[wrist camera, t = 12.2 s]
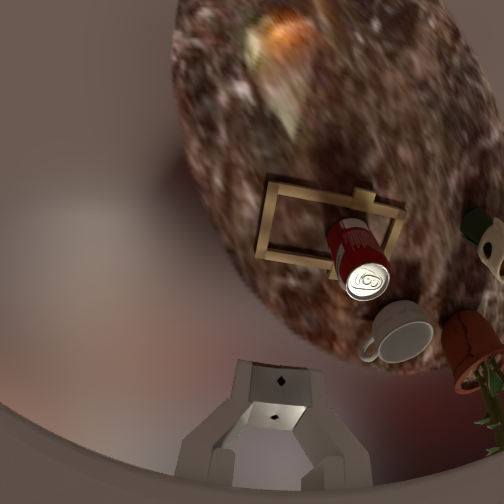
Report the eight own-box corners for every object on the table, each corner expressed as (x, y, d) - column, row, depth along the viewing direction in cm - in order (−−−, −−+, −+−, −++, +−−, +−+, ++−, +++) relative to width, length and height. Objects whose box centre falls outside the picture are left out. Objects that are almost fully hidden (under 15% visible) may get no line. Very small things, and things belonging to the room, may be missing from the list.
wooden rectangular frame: (270, 169, 39) (270, 171, 38) (408, 200, 39) (411, 203, 38) (253, 262, 47) (253, 266, 46) (376, 281, 47) (378, 286, 46)
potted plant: (439, 350, 55) (484, 482, 25) (420, 315, 50) (480, 477, 20) (497, 309, 49) (562, 429, 19) (487, 266, 44) (579, 406, 13)
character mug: (450, 204, 39) (495, 244, 28) (481, 187, 36) (529, 221, 25) (461, 255, 43) (497, 300, 32) (489, 238, 41) (528, 278, 30)
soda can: (337, 209, 41) (357, 251, 31) (376, 223, 42) (404, 267, 31) (319, 247, 45) (331, 297, 34) (357, 260, 45) (376, 310, 35)
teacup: (418, 284, 47) (434, 313, 40) (420, 324, 51) (433, 352, 44) (347, 308, 50) (355, 341, 43) (357, 345, 55) (364, 376, 48)
